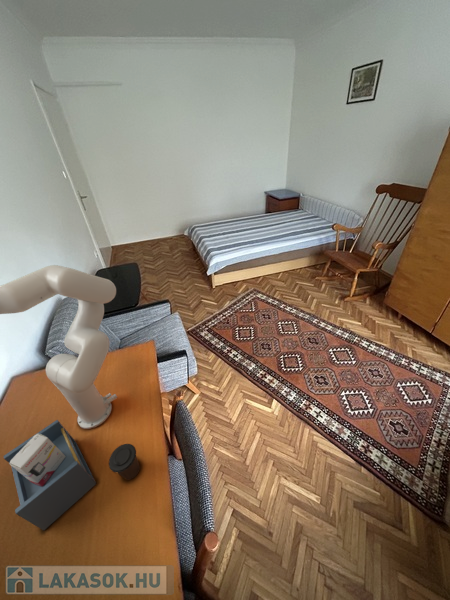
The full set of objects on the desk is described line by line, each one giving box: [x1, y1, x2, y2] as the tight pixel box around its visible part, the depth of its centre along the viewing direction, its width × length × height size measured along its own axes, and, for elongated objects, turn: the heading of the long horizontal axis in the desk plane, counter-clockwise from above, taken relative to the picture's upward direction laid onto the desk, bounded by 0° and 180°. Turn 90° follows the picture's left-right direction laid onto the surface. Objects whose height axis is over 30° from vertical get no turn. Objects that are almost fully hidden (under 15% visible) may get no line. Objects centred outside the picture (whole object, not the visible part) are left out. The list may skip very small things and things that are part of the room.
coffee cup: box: [108, 443, 141, 481], centre depth 76 cm, size 8×8×10 cm
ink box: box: [8, 432, 66, 487], centre depth 70 cm, size 9×5×12 cm, turn 162°
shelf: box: [3, 419, 97, 531], centre depth 74 cm, size 15×20×14 cm
